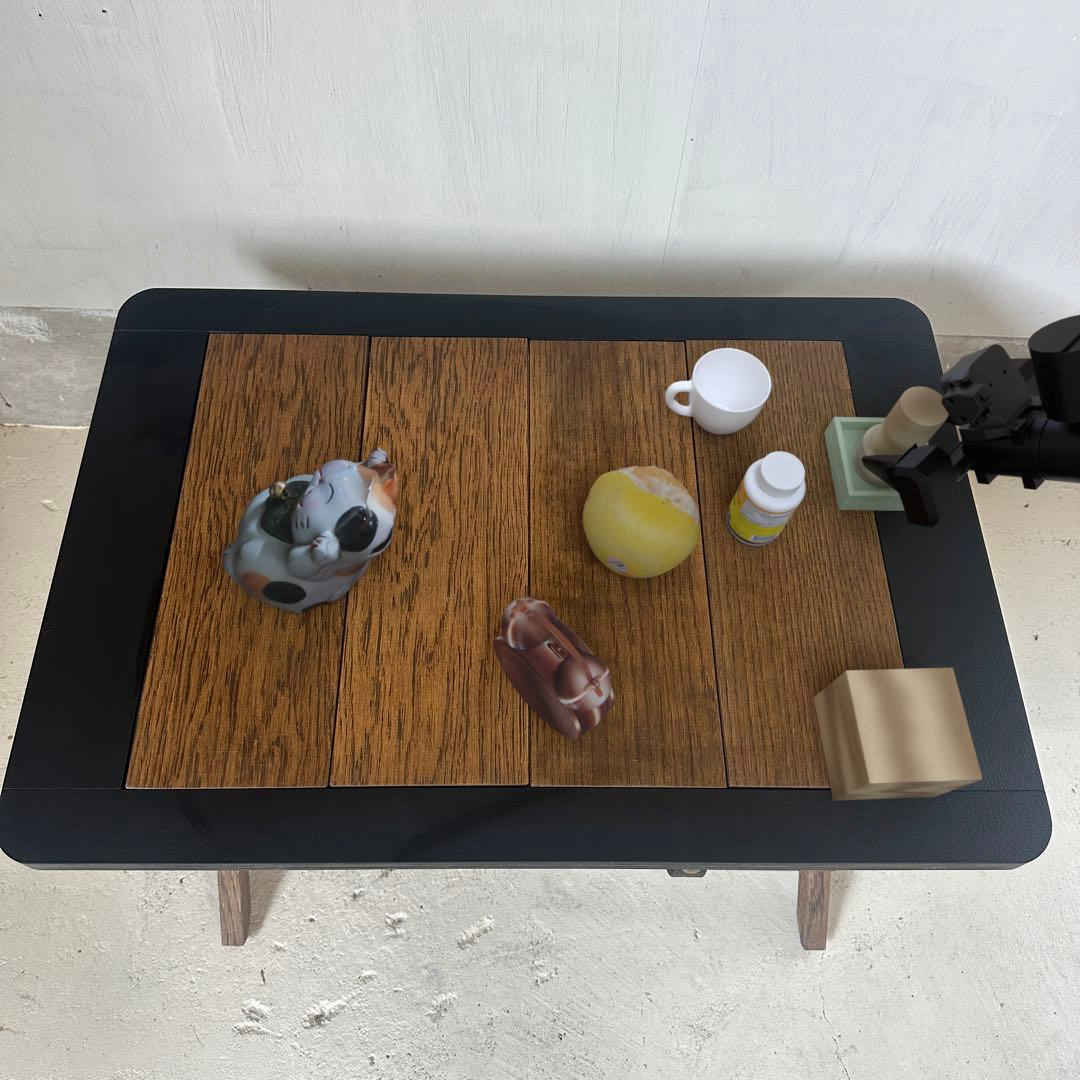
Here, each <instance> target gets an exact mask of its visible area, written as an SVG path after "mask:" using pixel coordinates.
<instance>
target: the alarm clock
mask: <svg viewBox="0 0 1080 1080" xmlns="http://www.w3.org/2000/svg"><path fill="white" fill-rule="evenodd" d="M500 626H501V627H500V628H501V633H500V634H499V635H498V637H497V638H495V639H494V640H493V641H492V644H493V645H492V646H493V650H494V653H495V655H496V658H497V660H498V662H499V664H500V665H501V668H502V669H503V672H504V674H505V675H506V677H507V679H508V681H509V682H510V683H511V685H512V686H513V688H514V689H515V691H516V692H517V693H518V694H519V696H520V697H521V699H522V700H523V701H524V702H525V703H526V704H527V706H528V707H529V708H530V709H531V710H532V711H533V712H534V714H536V715H537V716H538V717H539V718H540V719H541V720H542V721H543V722H545V723H546V724H547V725H548V726H549V727H551V728H552V729H553V730H555V731H556V733H558V734H560V735H561V736H562V737H564V738H566V739H567V740H570V741H578V739H579V738H581V737H582V736H583V735H585V734H586V733H588V732H589V731H591V730H592V729H593V728H594V727H596V726H597V725H598V724H599V723H600V722H601V721H602V719H604V717H605V716H606V715H607V714H608V713H609V712H610V711H611V709H612V708H613V707H614V706H615V703H616V697H615V693H614V690H613V686H612V682H613V681H612V680H613V678H612V674H611V672H610V669H609V668H608V666H607V664H606V663H605V662H604V661H603V660H602V659H601V658H599V657H598V656H596V655H595V654H594V653H593V652H592V650H591V649H590V648H589V647H588V646H587V644H586V643H585V642H584V641H583V640H582V638H581V637H580V636H579V635H578V634H577V633H576V632H574V630H572V628H570V626H569V625H568V624H565V622H563V621H562V620H561V619H560V618H558V617H557V615H556V614H555V612H554V609H553V608H552V607H551V606H550V605H549V603H547V602H546V601H545V600H543V599H542V598H540V597H537V596H523V597H520V598H517V599H515V600H513V601H512V602H511V603H510V604H509V605H508V606H507V607H506V608H505V610H504V611H503V612H502V615H501V622H500Z"/></svg>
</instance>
